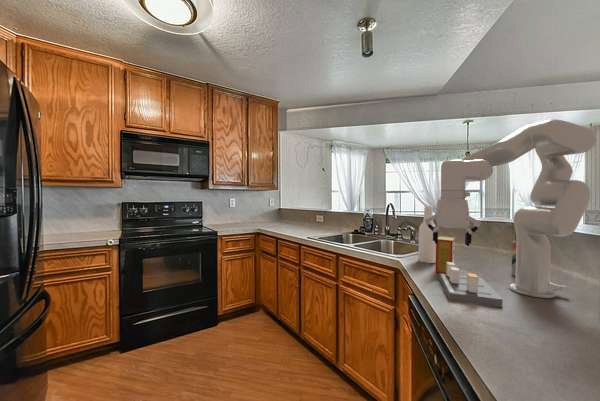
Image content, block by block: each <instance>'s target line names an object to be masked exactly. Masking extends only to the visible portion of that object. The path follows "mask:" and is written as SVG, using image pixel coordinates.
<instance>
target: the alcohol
mask: <svg viewBox="0 0 600 401" xmlns="http://www.w3.org/2000/svg"><path fill="white" fill-rule="evenodd" d="M423 207H424V211H423V220H422V222H421V224H420V226H419V228H418V256H417V257H418V261H419V260H420V261H422V262H421V263H423V262H425V263H424V264H429V263H433V264H436V244H435V241H433V231H432V230H431V229H430V228H429V227H428V226H427V224H426V222H425V219H427V218H429V217H432V216H434V215H433V205H424V206H423ZM430 224H431V225H432V226H433V227H435V226H436V223H434V220H432V221H430ZM420 261H419V262H420Z"/></svg>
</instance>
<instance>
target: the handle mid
mask: <svg viewBox="0 0 600 401" xmlns="http://www.w3.org/2000/svg"><path fill="white" fill-rule="evenodd" d="M460 272H461V271H460V269H459V268H458V267H456V266H455V267H450V281H451V283H456V284H459V275H461V274H460Z"/></svg>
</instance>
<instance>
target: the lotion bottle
mask: <svg viewBox="0 0 600 401" xmlns="http://www.w3.org/2000/svg"><path fill="white" fill-rule="evenodd" d="M511 246H512V247H511V275H512V276H514V277H515V275H516V231H515V235H514V240H513V241H512V243H511Z"/></svg>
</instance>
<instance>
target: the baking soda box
mask: <svg viewBox="0 0 600 401" xmlns="http://www.w3.org/2000/svg"><path fill="white" fill-rule="evenodd" d="M455 256H456V237H452V236H451V237H450V236H438V243H437V244H436V263H435V273H436V274H440V273H443V274H446V265H447V262H453V263H454V264H455V265H456V263H455V262H456V261H455V260H456V257H455Z"/></svg>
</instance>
